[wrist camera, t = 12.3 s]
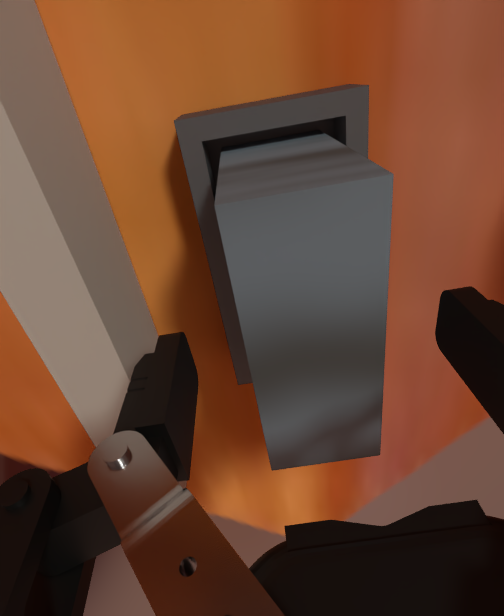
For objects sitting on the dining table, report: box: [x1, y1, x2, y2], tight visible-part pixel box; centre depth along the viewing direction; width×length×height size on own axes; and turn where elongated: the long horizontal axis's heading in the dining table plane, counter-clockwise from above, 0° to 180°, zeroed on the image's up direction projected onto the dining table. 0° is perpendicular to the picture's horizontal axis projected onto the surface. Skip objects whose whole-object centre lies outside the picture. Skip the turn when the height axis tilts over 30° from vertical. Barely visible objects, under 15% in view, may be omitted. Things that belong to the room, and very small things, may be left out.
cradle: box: [174, 84, 369, 385], centre depth 17 cm, size 13×7×2 cm, turn 9°
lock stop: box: [214, 130, 393, 470], centre depth 14 cm, size 10×4×8 cm, turn 9°
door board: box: [0, 0, 187, 489], centre depth 16 cm, size 24×3×5 cm, turn 9°
